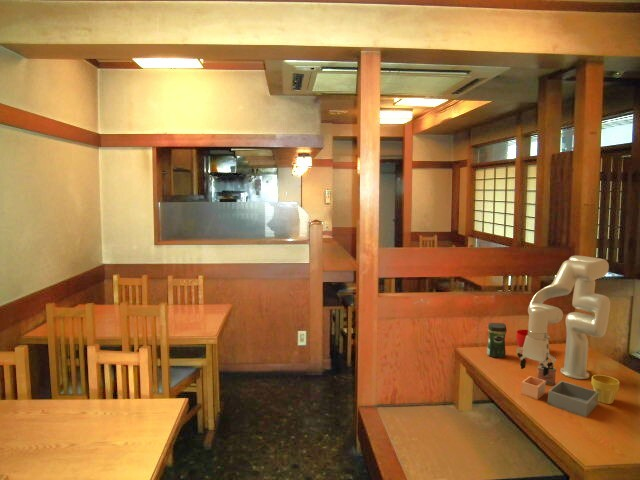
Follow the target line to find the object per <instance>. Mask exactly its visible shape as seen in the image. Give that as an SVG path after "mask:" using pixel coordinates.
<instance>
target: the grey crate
mask: <svg viewBox="0 0 640 480" xmlns="http://www.w3.org/2000/svg"><path fill="white" fill-rule="evenodd" d="M598 394H599V392H597V391H594V389H591V388H587V387H584V386H579V385H577V384H574V383H570V382H567V381H565V380H560V381H559V382H558V383H555V385H553V386H552V387H551V388H550V389H549V390H548V393H547V402H546V403H547V405H549V406H552V407H555V408H558V409H561V410H564V411H566V412H570V413H572V414H575V415H578V416H580V417H582V418H583V417H584V418H587V417H588V416H589V415H590V414H591V413H592V412H593V411H594V410H595V409H596V408H597V406H598V403H599V401H598Z"/></svg>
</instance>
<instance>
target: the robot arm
mask: <svg viewBox="0 0 640 480" xmlns="http://www.w3.org/2000/svg"><path fill="white" fill-rule="evenodd" d="M609 265H610V264H609V262H608V261H607V260H606V259H605V258H599V257H591V256H585V255H571V256H570V257H569V258H568V259H567V260H564V261H563V262H562V264H561V265H560V267H559V270H558V271H557V273H556V275H555V277H554V278H553V281H552V282H551V284H548V285H547V286H544V287H543V288H541V289H540V290H539V291H537V292H536V293H535V294H534V295H533V297H532V299H531V300H530V302H529V305H528V308H527V314H528V315H529V317H528V326H527V330H528V335H527V336H526V338H525V342H524V346H523V347H517V348H515V352H516V354H517V357H518V358H519V360H520V364H519V365H520V369H521V370H524V369H525V368H526V362H527V361H526V359H529V360H533V361H535V362H539V363H540V362H542V363H543V364H544V366H545V367H544V370H543V376H546V375H547V374H548V373H549V367H550V366H551V365H553V364H554V365H555V363H556V362H557V359H556V358H555V357H554V356H553V355H552V354H550V342H549V339H550V337H551V336H550V335H549V334H548V325H549V324H557V323H559V322H561V321H562V319H563V316H564V313H563V310H562V309H561V308H559V307H557V306H554V305H549V304H546V303H544V302H546V301H547V300H548V299H551V298H556V297H562V296H568V295H569V294H570V293H572V291H573V294H572V301H571V302H572V303H571V304H572V307H573V308H574V309H576V310H579V311H582V312H577V311H573V312H569V313H568V314H566V317H565V330H566V338H565V339H566V340H565V349H564V350H565V352H564V363H563V364H564V366H563V367H561V368H560V373H561V374H562V375H563V376H565V377H568V378H571V379H576V380H586V379H587V380H588V379H589V378H590V373H589V372H588V371H587V365H588V364H587V362H588V352H589V339H588V337H587V335H588V336H591V337H595V338H602V337H604V336H605V335H606V332H607V329H608V324H609V317H610V311H611V300H610V299H609V297H608V296H606V295H604V294H600V293H595V290H596V289H595V288H596V281H595V280H597V279H600V278H603V277H604V276H606V275H607V274H608V272H609V269H610V266H609ZM583 312H587V313H591V314H594V315H590V314H587V313H583ZM546 338H547V339H546ZM521 351H522V352H521ZM549 359H550V360H551V361H550V362H549Z"/></svg>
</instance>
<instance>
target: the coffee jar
mask: <svg viewBox="0 0 640 480" xmlns="http://www.w3.org/2000/svg"><path fill="white" fill-rule="evenodd" d="M487 332H488V342H487V346H486V354H487V356H489V357H492V358H505V357H506V355H507V354H506V334H507V325H506V324H505V323H504V322H488V327H487Z"/></svg>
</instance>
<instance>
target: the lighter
mask: <svg viewBox="0 0 640 480" xmlns="http://www.w3.org/2000/svg"><path fill="white" fill-rule="evenodd" d="M554 365H555V363H554V364H553V365H551V366H550V367H549V373H548V374H547V375H546V376H543V370H544V367H545V366H544V364H543V363H542V362H539V364H538V366H537V374H536V375H537V376H536V378H538V379H542V380H545V381H546V385H547V384H549V386H555V385H556V372H557V368H555V367H554Z"/></svg>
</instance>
